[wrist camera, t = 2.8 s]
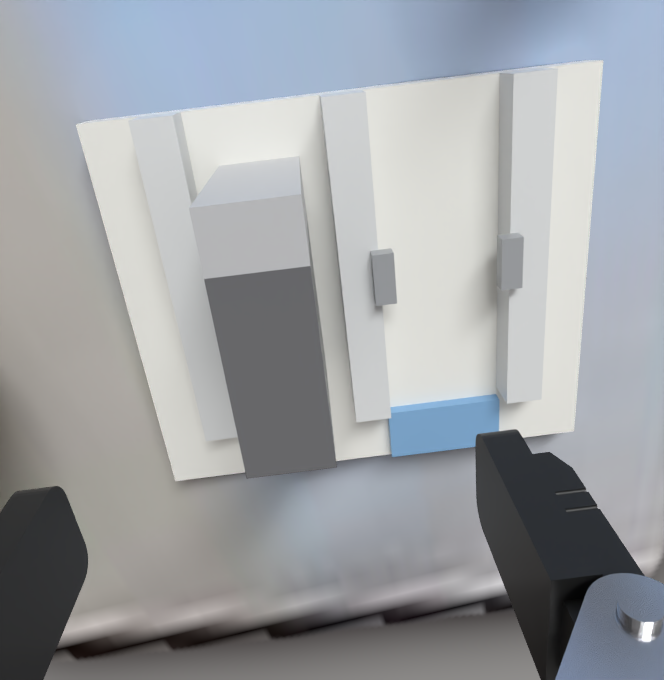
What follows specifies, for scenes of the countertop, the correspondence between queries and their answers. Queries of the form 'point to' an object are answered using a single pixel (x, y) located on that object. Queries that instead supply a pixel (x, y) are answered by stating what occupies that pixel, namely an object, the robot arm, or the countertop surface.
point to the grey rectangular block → (266, 314)
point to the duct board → (376, 253)
